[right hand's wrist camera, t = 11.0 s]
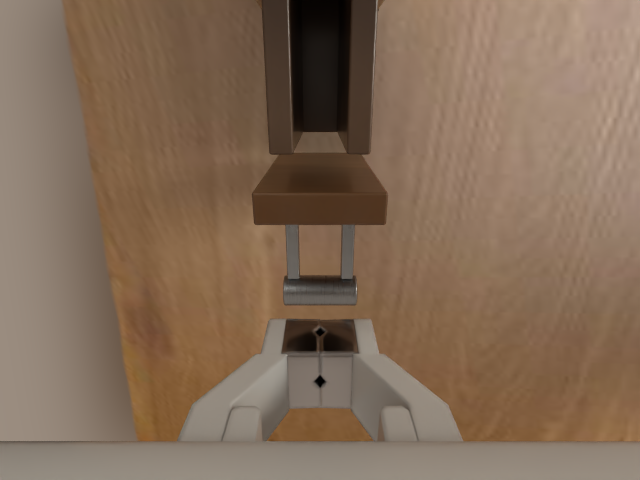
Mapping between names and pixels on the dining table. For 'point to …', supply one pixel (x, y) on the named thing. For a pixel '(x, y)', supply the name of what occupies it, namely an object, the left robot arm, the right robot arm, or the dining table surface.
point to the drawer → (319, 116)
